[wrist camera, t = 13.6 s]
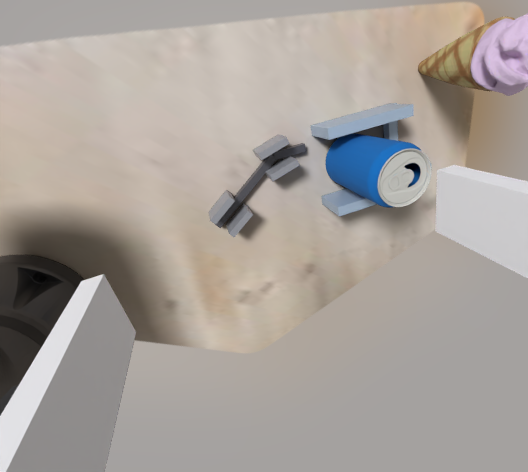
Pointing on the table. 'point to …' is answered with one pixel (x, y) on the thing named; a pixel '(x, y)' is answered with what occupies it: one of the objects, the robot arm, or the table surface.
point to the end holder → (352, 123)
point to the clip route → (255, 182)
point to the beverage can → (379, 169)
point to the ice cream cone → (485, 58)
